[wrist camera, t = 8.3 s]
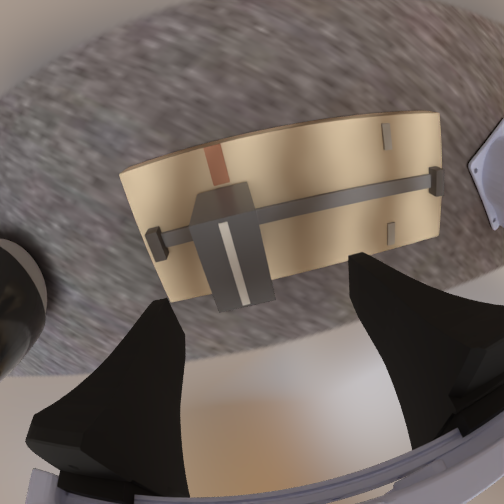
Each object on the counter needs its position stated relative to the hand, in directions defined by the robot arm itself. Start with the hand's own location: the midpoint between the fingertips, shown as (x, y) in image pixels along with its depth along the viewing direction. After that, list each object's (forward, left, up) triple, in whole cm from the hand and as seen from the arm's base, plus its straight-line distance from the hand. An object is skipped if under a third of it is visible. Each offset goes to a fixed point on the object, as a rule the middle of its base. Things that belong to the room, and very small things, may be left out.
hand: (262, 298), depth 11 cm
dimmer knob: (0, +1, -8) cm, 8 cm away
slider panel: (-2, -3, -10) cm, 11 cm away
